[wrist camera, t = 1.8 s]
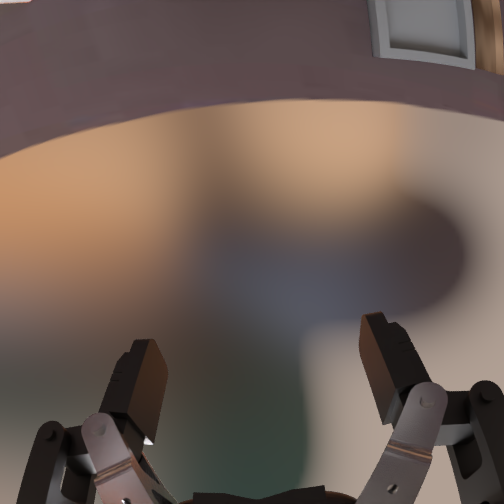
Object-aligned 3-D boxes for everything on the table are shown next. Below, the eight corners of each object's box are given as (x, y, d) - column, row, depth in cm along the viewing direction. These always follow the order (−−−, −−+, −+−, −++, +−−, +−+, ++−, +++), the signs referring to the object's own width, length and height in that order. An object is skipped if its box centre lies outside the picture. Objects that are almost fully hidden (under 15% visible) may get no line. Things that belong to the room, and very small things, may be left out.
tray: (358, -46, 16) (365, -51, 14) (455, -25, 15) (466, -27, 13) (372, 56, 23) (380, 57, 21) (464, 67, 22) (474, 70, 20)
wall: (466, -30, 14) (485, -32, 11) (474, -27, 14) (494, -29, 11) (476, 67, 21) (495, 73, 19) (483, 69, 21) (503, 75, 19)
